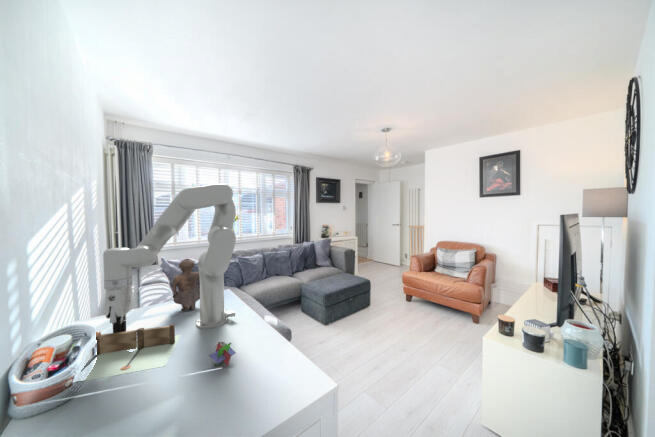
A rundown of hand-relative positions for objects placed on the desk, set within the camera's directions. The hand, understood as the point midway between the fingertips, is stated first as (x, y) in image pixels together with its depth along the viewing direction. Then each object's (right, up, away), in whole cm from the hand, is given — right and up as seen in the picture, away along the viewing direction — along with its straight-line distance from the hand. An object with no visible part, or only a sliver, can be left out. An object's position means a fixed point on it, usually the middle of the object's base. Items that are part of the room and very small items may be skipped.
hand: (119, 333), depth 85 cm
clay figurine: (+6, -4, +32) cm, 33 cm away
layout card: (+10, -5, -6) cm, 13 cm away
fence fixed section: (+14, -4, 0) cm, 14 cm away
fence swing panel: (+2, -4, -4) cm, 6 cm away
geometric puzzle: (+42, -5, -10) cm, 43 cm away
